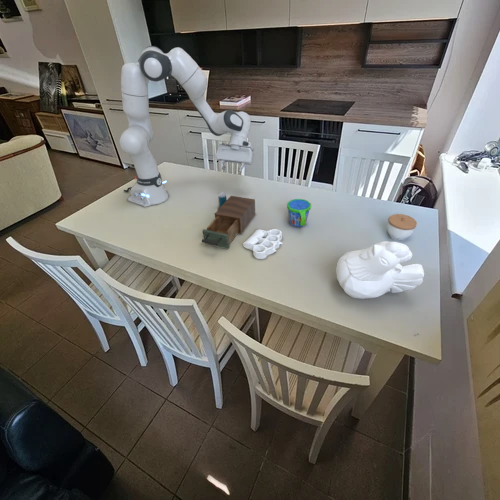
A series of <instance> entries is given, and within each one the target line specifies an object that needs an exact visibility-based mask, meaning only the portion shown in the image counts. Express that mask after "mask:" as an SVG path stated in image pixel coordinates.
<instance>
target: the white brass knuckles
mask: <svg viewBox="0 0 500 500" xmlns="http://www.w3.org/2000/svg"><path fill="white" fill-rule="evenodd" d="M282 240H283V232H282V231H281V230H280V229H277V228H272V229H269V230H265V229H260V228H258V229H256V230H255V231H254V232H253V233H251V235H249V237H248V238H247V239H246V240H245V241H244V242H243V243H242V246H243V247H244V248H245V249H247V250H250V251H252V254H253V257H254V258H255V259H258V260H265V259H266V258H267V256H270V255H273V254H274V253H275V252H276V253H277V249H278V248H280V246H281V245H284V242H282Z"/></svg>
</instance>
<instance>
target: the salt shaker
mask: <svg viewBox="0 0 500 500" xmlns="http://www.w3.org/2000/svg"><path fill="white" fill-rule="evenodd" d="M217 196H218V197H217V198H218V206H219V208H220V207H221V206H222V205H223V204H224V203H225V202H226V201H227V193H226V192H225V191H220V192H219V193H218V194H217Z"/></svg>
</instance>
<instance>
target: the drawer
mask: <svg viewBox="0 0 500 500" xmlns="http://www.w3.org/2000/svg"><path fill="white" fill-rule="evenodd" d="M201 232H202V237H203V238H202V239H201V243H203V244H205V245H210V246H213V247H218V248H222V249H227V250H228V249H230V244H231V243H232V241H233V240H234V239H235V237H236V236H237V235H238V234H237V233H238V232H239V220H238V219H233V218H228V217H222V216H217V217H216V218H215V217H214V219H213V220H212V222H210V223H209V225H208V226H207V227H206V229H204V228H203V229H202V231H201Z"/></svg>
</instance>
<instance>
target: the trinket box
mask: <svg viewBox="0 0 500 500" xmlns="http://www.w3.org/2000/svg"><path fill="white" fill-rule="evenodd" d="M417 225H418V222H417V220H416V219H415V218H414V217H412V216H410V215H407V214H403V213H393V214H391V215H390V216H389V217H388V219H387V224H386V231H387V234H388V235H389V237H390V238H392V239H393V240H397V241H402V240H405V239H407V238H409V237H410V236H411V235H412V234H413V233H414V232H415V229H416V227H417Z"/></svg>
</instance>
